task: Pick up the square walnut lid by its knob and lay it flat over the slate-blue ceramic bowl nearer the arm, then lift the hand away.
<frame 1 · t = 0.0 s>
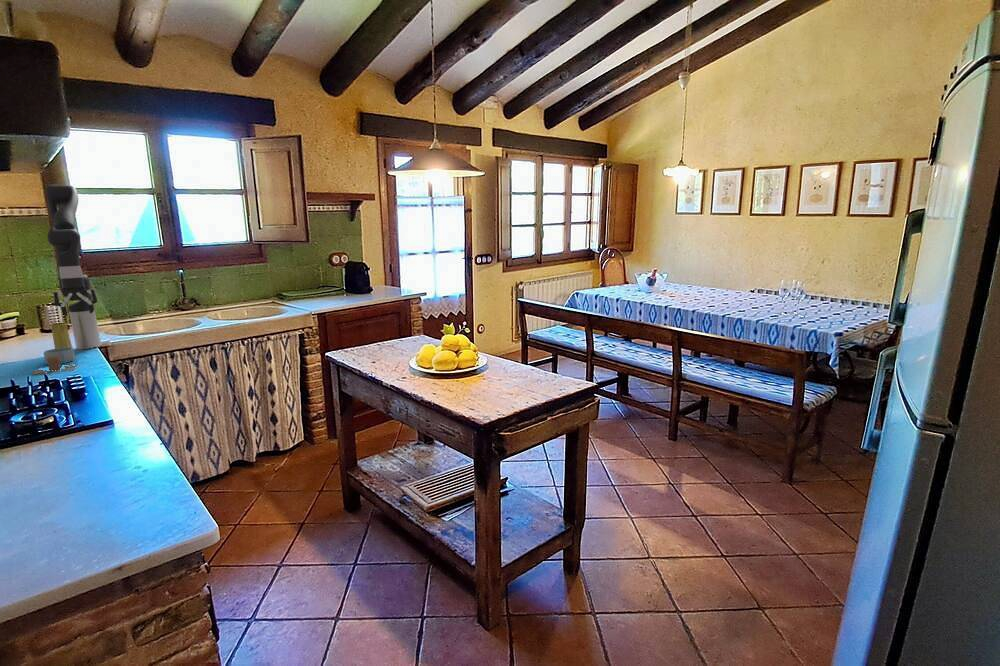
hand: (78, 314, 225), 17 cm above the worktop, tool pointing down, fingers open, 8 cm apart
vase: (65, 356, 224), on the worktop
bowl: (61, 361, 214), on the worktop
lid: (56, 370, 203), on the worktop
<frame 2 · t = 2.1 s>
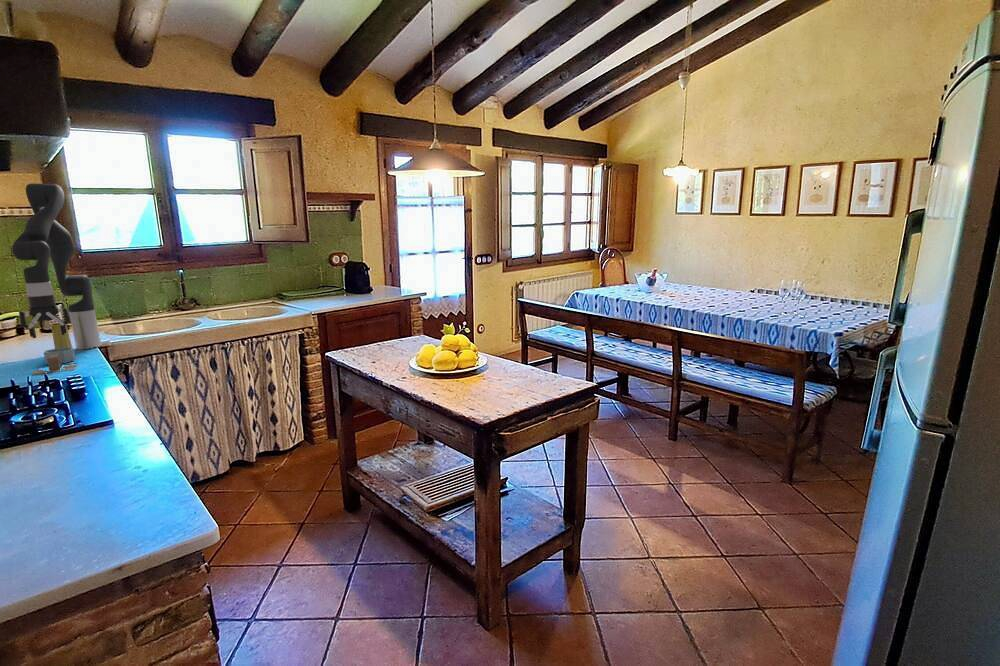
hand: (49, 336, 200), 13 cm above the worktop, tool pointing down, fingers open, 8 cm apart
nothing on the worktop moved.
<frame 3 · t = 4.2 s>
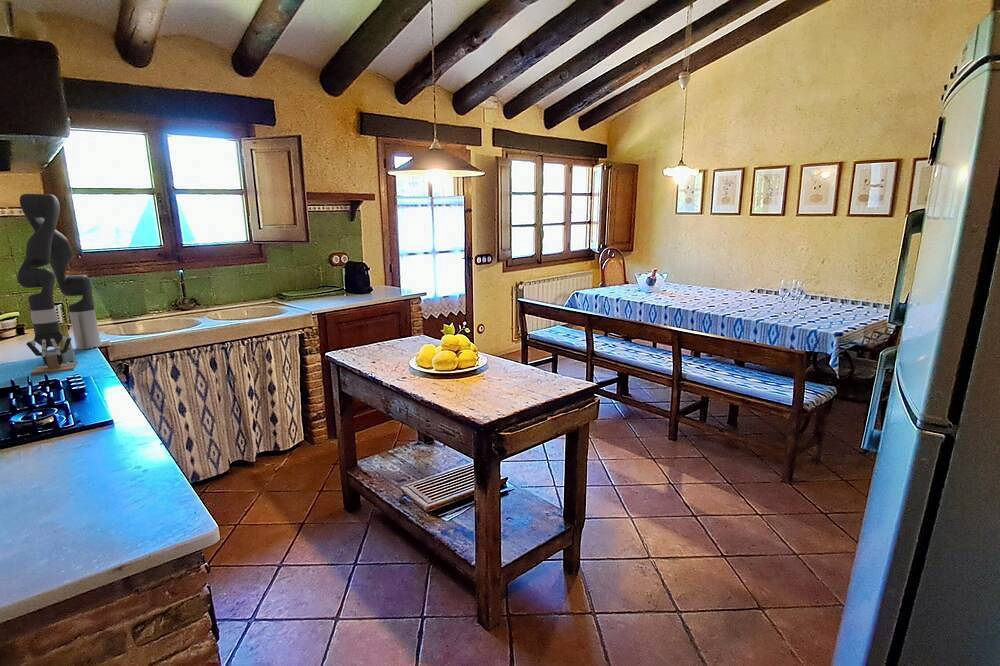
hand: (54, 364, 202), 2 cm above the worktop, tool pointing down, fingers closed on lid, 3 cm apart
lid: (55, 369, 202), on the worktop, touching gripper
everything else where it was.
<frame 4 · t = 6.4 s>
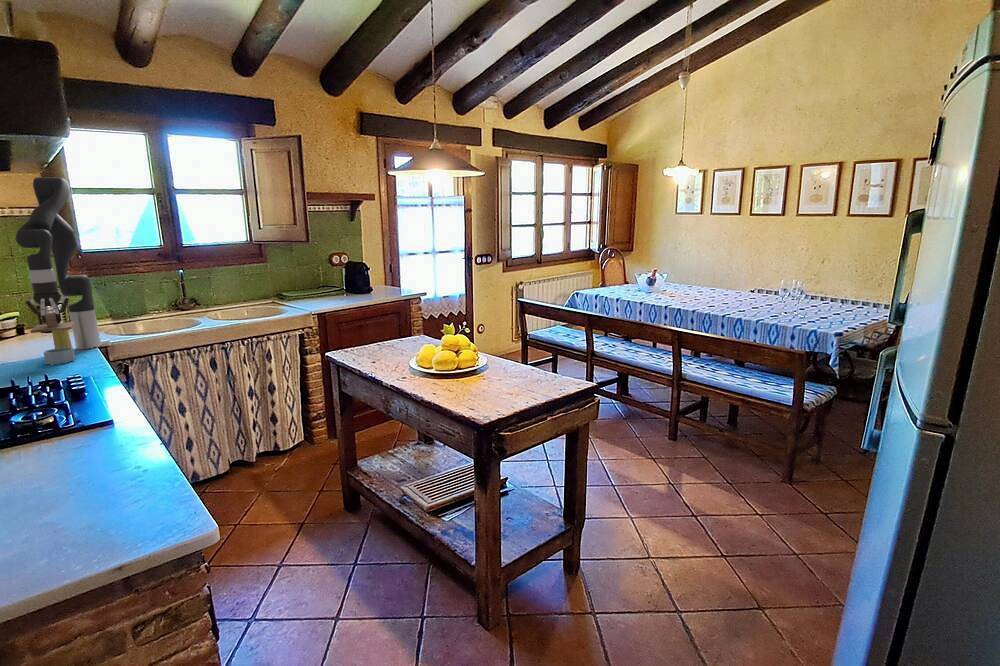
hand: (52, 323, 209), 16 cm above the worktop, tool pointing down, fingers closed on lid, 3 cm apart
lid: (54, 328, 209), point 14 cm above the worktop, touching gripper
everything else where it was.
when the fingers open (8 cm above the worktop, at t = 9.0 s): lid drops 1 cm, resting on bowl.
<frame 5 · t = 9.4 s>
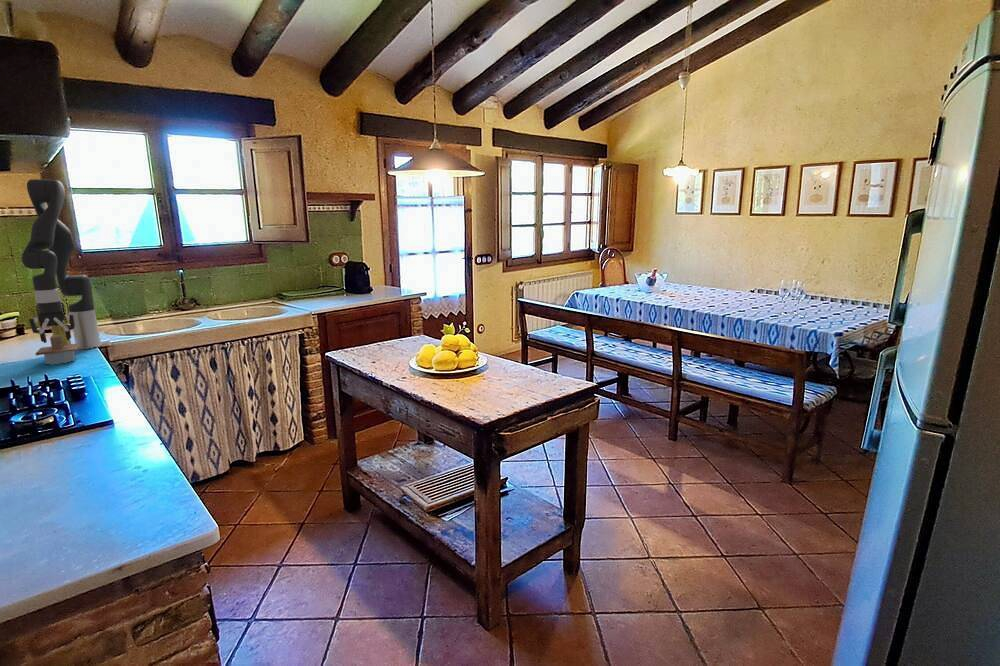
hand: (56, 341, 212), 9 cm above the worktop, tool pointing down, fingers open, 6 cm apart
bowl: (61, 361, 214), on the worktop, touching lid
lid: (58, 350, 213), point 5 cm above the worktop, touching bowl
everything else where it was.
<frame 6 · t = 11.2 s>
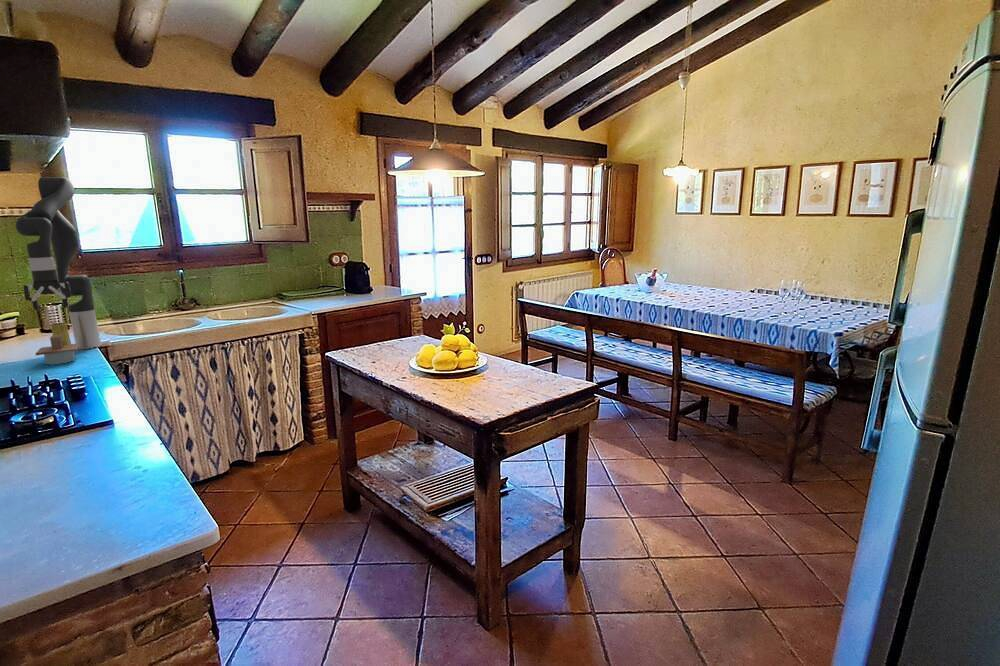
hand: (51, 309, 210), 22 cm above the worktop, tool pointing down, fingers open, 8 cm apart
nothing on the worktop moved.
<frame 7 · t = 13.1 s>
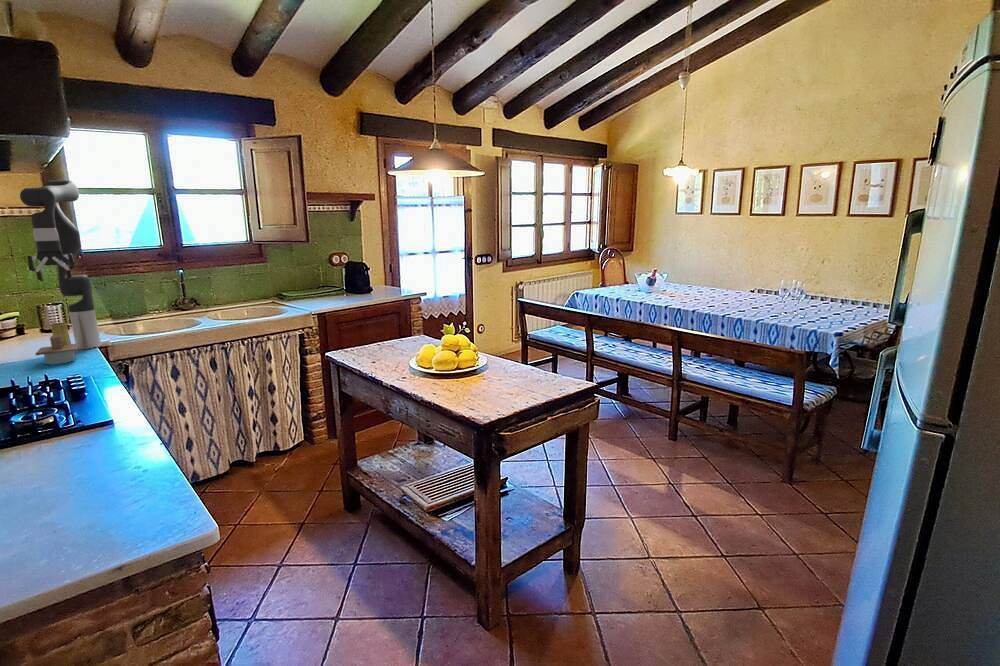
hand: (55, 280, 211), 33 cm above the worktop, tool pointing down, fingers open, 8 cm apart
nothing on the worktop moved.
at the end: lid 0.1 cm off-centre on the bowl, point 5.0 cm above the bowl's base; lid tilted 0°; the gripper is holding nothing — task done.
